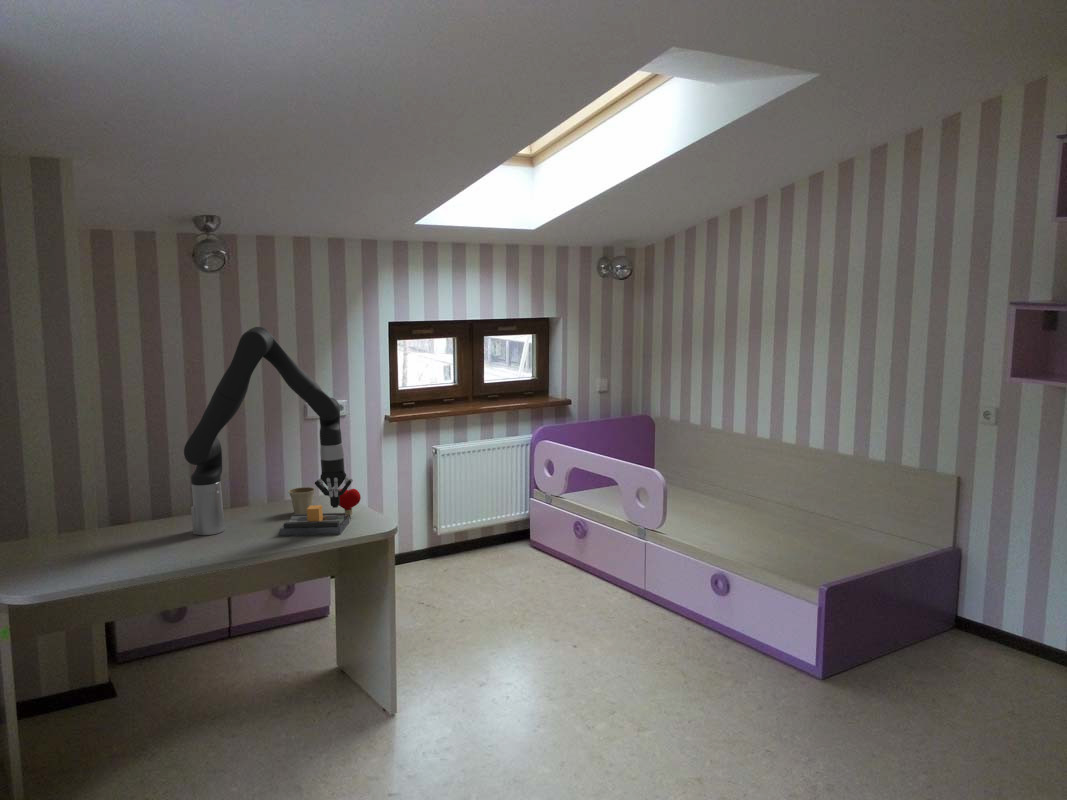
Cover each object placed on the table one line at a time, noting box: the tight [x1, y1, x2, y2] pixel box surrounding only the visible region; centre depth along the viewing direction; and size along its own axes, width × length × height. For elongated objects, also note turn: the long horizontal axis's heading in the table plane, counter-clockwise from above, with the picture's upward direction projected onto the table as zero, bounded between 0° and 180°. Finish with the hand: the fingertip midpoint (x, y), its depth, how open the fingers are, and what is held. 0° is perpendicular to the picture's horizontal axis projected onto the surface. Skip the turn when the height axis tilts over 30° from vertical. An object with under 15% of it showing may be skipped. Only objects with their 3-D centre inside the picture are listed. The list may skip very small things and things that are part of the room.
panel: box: [279, 515, 350, 537], centre depth 277 cm, size 20×14×4 cm
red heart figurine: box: [338, 488, 362, 517], centre depth 292 cm, size 9×7×10 cm
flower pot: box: [287, 486, 316, 514], centre depth 298 cm, size 9×9×9 cm
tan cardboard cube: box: [307, 504, 323, 521], centre depth 277 cm, size 4×5×5 cm
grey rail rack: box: [283, 512, 347, 528], centre depth 277 cm, size 18×12×1 cm, turn 90°
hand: (335, 507), depth 276 cm, fingers closed
